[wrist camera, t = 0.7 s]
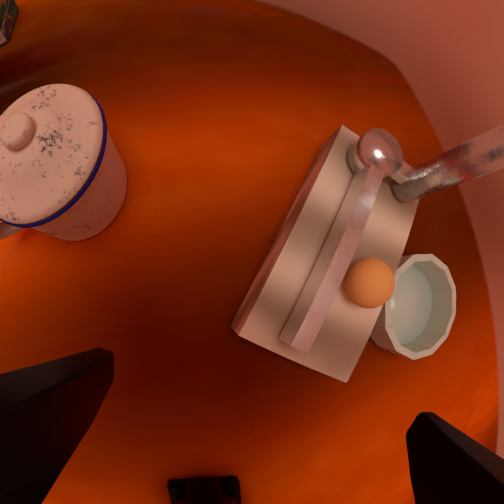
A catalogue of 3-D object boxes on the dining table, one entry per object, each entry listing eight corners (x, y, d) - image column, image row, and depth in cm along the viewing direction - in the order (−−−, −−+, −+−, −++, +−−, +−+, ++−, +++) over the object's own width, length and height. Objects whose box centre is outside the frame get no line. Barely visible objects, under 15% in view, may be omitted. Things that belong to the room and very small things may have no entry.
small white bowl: (431, 342, 27) (454, 346, 24) (362, 359, 25) (384, 368, 22) (430, 256, 28) (454, 253, 25) (361, 258, 26) (383, 255, 23)
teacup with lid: (100, 120, 23) (61, 33, 11) (151, 198, 23) (124, 131, 12) (0, 203, 20) (-81, 163, 9) (41, 288, 20) (-49, 290, 9)
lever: (349, 370, 20) (522, 446, 6) (262, 330, 19) (429, 430, 5) (420, 182, 23) (561, 123, 9) (355, 132, 22) (488, 25, 8)
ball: (376, 304, 22) (405, 307, 18) (337, 309, 21) (363, 313, 18) (375, 258, 22) (403, 254, 19) (335, 260, 21) (361, 256, 18)
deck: (324, 369, 25) (346, 382, 21) (230, 326, 23) (238, 335, 19) (397, 196, 28) (422, 186, 24) (322, 143, 26) (342, 124, 23)
